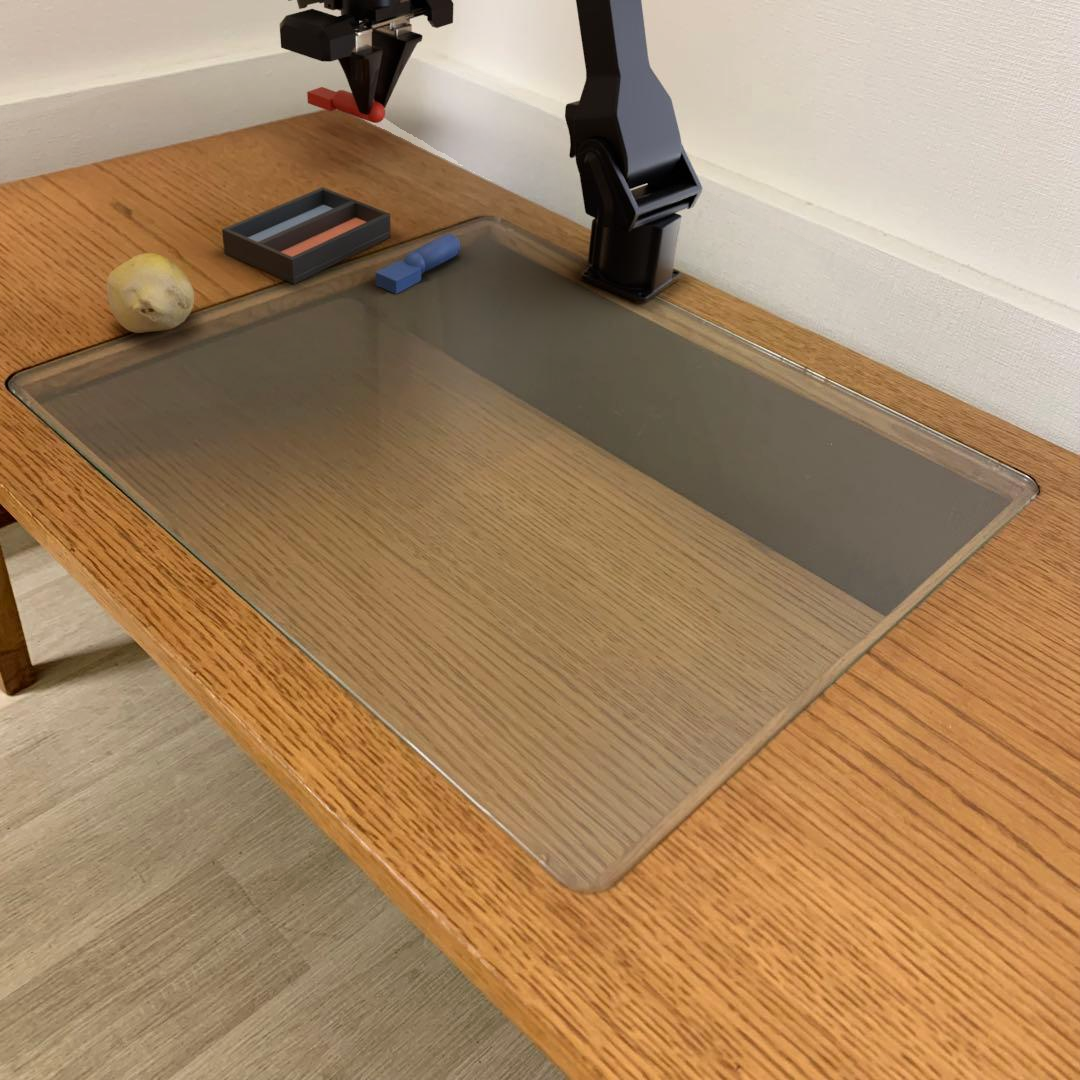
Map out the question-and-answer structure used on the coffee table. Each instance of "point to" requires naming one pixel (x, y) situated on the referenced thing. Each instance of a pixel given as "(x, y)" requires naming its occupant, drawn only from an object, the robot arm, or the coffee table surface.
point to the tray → (306, 234)
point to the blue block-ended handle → (417, 263)
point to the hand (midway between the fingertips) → (372, 110)
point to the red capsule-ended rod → (343, 103)
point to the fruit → (149, 294)
